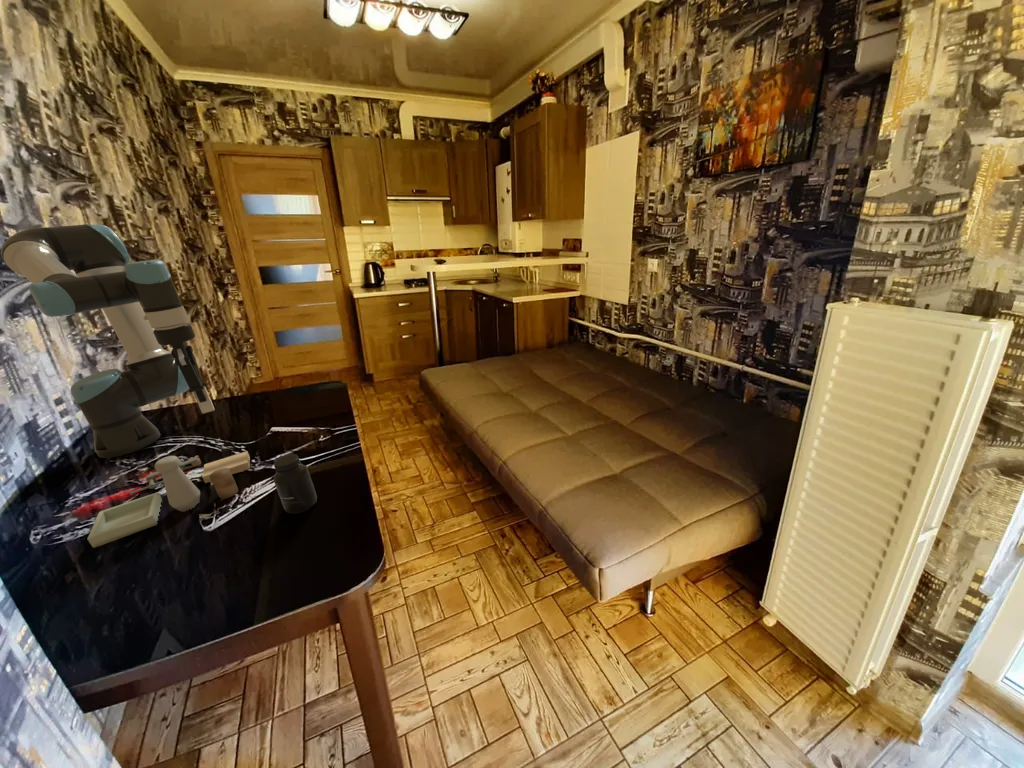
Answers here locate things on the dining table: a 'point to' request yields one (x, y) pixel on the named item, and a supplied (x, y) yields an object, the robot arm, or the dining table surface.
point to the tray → (125, 519)
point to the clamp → (151, 476)
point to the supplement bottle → (294, 484)
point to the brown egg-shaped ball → (224, 483)
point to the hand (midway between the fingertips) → (208, 410)
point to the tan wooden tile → (227, 465)
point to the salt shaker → (177, 484)
